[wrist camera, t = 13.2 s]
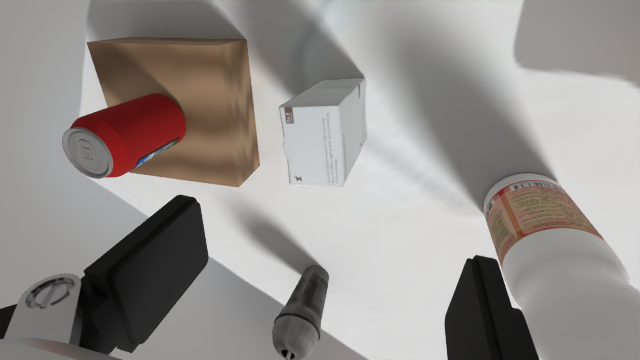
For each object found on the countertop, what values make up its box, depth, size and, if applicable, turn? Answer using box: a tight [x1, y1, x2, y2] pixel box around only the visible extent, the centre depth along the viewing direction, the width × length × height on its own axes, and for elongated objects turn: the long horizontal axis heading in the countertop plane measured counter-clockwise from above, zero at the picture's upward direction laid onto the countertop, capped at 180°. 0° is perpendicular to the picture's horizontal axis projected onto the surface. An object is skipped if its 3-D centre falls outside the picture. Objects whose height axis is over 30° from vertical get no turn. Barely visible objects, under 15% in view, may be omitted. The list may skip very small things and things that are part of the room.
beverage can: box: [62, 93, 186, 179], centre depth 36 cm, size 7×7×12 cm
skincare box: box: [279, 78, 367, 187], centre depth 36 cm, size 8×6×15 cm
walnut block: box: [87, 37, 260, 187], centre depth 44 cm, size 18×18×7 cm
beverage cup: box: [272, 266, 329, 360], centre depth 49 cm, size 7×7×20 cm
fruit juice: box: [484, 173, 640, 360], centre depth 30 cm, size 9×9×28 cm
